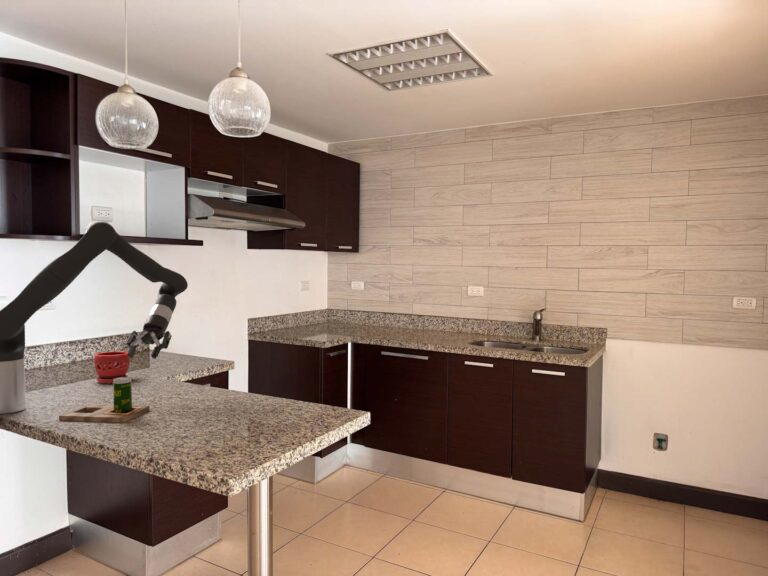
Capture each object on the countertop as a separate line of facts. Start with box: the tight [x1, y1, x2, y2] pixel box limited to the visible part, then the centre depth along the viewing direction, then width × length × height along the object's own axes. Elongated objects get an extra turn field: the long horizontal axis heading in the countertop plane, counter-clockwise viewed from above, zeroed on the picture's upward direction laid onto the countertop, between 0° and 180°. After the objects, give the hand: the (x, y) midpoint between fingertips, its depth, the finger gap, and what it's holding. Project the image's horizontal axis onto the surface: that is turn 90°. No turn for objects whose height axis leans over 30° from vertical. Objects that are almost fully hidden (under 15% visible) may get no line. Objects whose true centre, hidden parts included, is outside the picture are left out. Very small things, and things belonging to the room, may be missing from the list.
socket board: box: [58, 403, 150, 423], centre depth 178 cm, size 22×14×2 cm, turn 83°
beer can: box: [112, 376, 133, 413], centre depth 178 cm, size 5×5×12 cm
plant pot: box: [93, 351, 131, 384], centre depth 229 cm, size 13×13×12 cm
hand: (141, 357), depth 188 cm, fingers open, 8 cm apart
